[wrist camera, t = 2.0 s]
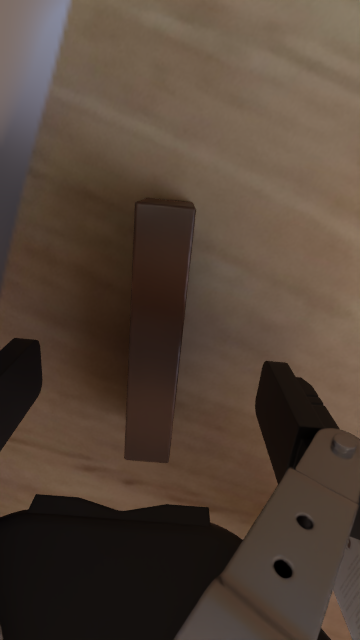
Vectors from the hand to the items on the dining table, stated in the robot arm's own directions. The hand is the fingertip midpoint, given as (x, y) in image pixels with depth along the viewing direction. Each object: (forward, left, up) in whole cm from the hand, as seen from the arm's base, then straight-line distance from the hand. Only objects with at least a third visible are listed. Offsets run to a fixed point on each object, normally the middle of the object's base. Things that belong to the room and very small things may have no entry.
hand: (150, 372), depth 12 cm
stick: (0, 0, -4) cm, 4 cm away
